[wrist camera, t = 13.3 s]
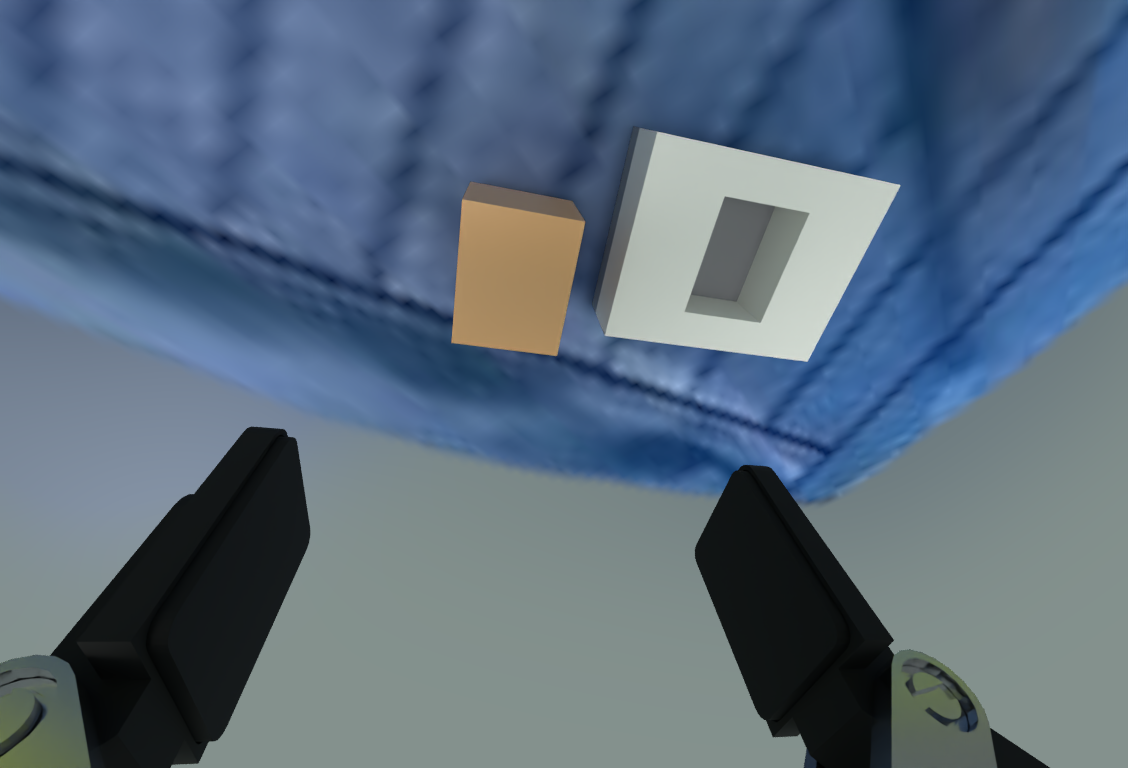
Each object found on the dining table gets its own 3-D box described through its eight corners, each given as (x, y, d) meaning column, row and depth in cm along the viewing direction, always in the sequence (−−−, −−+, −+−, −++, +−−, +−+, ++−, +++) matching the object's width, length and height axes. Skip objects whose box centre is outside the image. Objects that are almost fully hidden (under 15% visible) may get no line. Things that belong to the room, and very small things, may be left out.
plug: (566, 190, 27) (585, 221, 21) (546, 298, 31) (556, 355, 24) (474, 172, 26) (462, 199, 19) (465, 286, 30) (451, 342, 23)
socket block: (843, 172, 29) (900, 185, 24) (770, 329, 34) (807, 361, 30) (633, 126, 26) (657, 131, 22) (592, 304, 32) (604, 335, 27)
